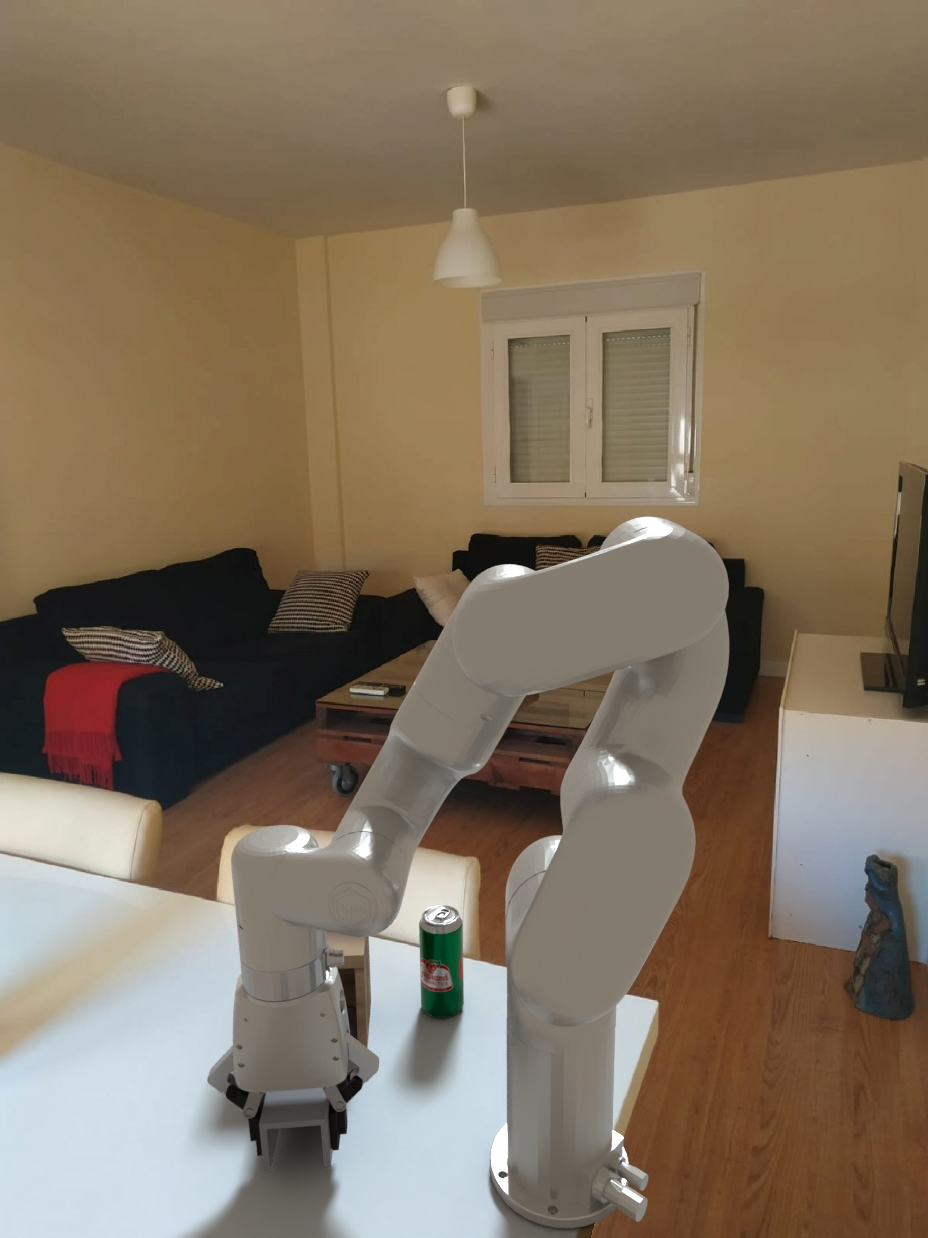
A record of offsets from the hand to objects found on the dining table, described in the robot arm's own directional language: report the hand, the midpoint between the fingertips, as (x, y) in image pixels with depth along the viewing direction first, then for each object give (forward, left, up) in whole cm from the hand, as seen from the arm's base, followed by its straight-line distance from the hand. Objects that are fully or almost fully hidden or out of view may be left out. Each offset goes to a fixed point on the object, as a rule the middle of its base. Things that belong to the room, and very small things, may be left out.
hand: (300, 1140), depth 80 cm
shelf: (+14, -13, -2) cm, 19 cm away
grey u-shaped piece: (+3, -3, -1) cm, 5 cm away
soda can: (+5, -25, -2) cm, 26 cm away
